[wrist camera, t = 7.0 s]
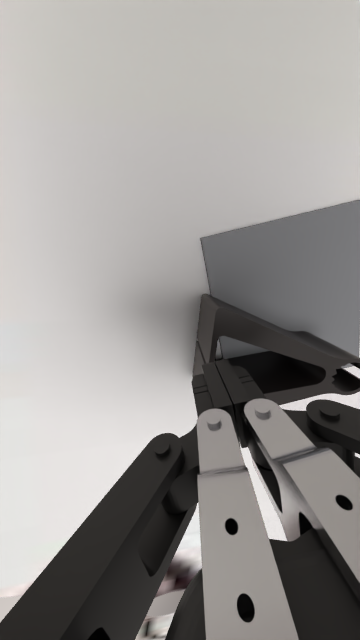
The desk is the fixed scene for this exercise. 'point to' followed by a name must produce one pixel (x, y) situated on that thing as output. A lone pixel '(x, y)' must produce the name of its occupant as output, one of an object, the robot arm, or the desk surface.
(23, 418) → the desk surface
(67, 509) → the desk surface
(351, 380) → the phone stand
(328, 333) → the mat
